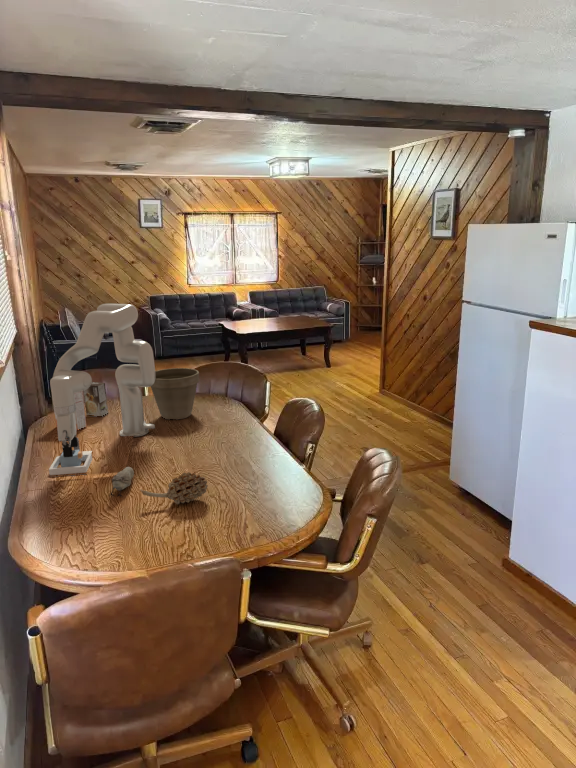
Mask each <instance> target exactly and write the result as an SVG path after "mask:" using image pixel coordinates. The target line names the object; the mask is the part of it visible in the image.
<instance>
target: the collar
mask: <svg viewBox="0 0 576 768" xmlns="http://www.w3.org/2000/svg"><path fill="white" fill-rule="evenodd" d="M72 452H73V456H72V457H64V455H63V451H62V452H61V454H60V455H59V456H60V461H61V463H60V467H73V466H82V461H81V458H82V456H83V454H82V450H81V449H80V450H74V449H72Z"/></svg>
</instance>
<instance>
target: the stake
mask: <svg viewBox="0 0 576 768" xmlns="http://www.w3.org/2000/svg"><path fill="white" fill-rule="evenodd" d="M77 442H78V447H73V450H80V451H82V450H81V449H80V440H79V437H77ZM92 452H93V450H85V451H84V450H83V451H82V454H93V453H92Z"/></svg>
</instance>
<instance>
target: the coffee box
mask: <svg viewBox="0 0 576 768" xmlns="http://www.w3.org/2000/svg"><path fill="white" fill-rule="evenodd" d="M106 389H107V388H106V383H105V382H96V381H95V382H94V381H92V383H91V385H90V387H89V388H88V389H86V390H84V391H83V400H84V408H85V416H87V415H94V416H93V417H97V416H102V417H104V416H106V415H108V414H109V408H108V399H107V398H108V397H107V390H106ZM107 413H108V414H107ZM105 414H106V415H105ZM103 415H104V416H103Z"/></svg>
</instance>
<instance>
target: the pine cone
mask: <svg viewBox="0 0 576 768" xmlns="http://www.w3.org/2000/svg"><path fill="white" fill-rule="evenodd" d="M208 486H209V485H208V481H207V479H206V477H204V476H200V474H197V475H196V472H195V473H191V472H190V471H189V472H183V473H181V475H178V476H177V477H174V478H173V479H171V482H169V483H168V489H167V492H164V493H161V492H157V493H156V492H151V491H148V490H143V489H139V491H140V492H141V494H142V495H143V496H146V497H153V498H165V499H167V498H168V500H169V499H170V500H172V501H173V502H174V504H176V505H179V504H185V503H188V504H189V503H190V501H191V502H194V500H196V499H198V498H200V497H202V496H203V495H204V494H206V493H207V489H208Z"/></svg>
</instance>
